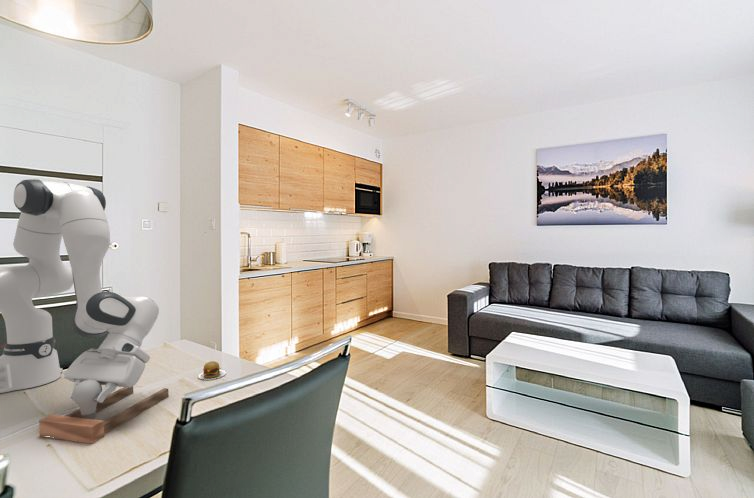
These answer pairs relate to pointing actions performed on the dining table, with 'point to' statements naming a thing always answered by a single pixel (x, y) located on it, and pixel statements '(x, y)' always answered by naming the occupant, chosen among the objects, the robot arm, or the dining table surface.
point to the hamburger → (211, 370)
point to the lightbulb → (87, 397)
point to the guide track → (92, 429)
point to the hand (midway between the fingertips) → (85, 400)
